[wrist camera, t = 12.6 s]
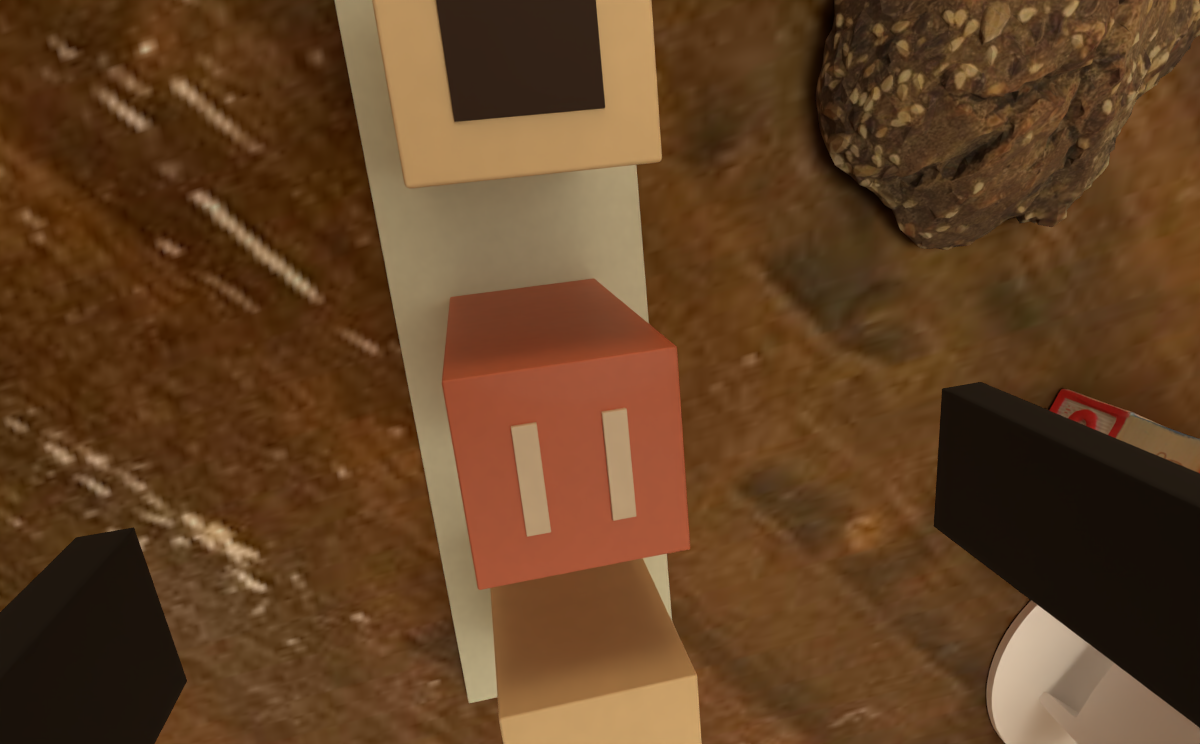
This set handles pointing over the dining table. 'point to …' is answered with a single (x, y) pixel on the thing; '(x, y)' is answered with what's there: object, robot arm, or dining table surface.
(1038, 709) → the panda figurine
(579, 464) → the equals sign block
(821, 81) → the bread roll
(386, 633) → the dining table surface
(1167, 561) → the robot arm
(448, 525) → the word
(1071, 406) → the stack of blocks
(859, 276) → the dining table surface
